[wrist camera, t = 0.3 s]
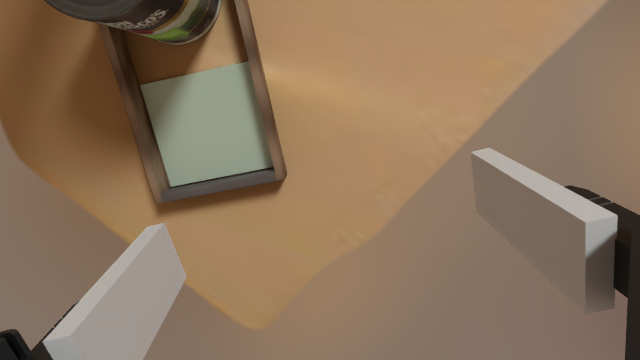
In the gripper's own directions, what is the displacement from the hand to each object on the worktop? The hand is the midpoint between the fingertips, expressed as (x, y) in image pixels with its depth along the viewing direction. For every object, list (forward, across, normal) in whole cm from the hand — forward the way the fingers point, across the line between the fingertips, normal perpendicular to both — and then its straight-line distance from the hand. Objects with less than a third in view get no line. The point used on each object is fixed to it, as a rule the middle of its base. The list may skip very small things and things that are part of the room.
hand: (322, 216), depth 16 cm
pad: (+27, -11, +1) cm, 29 cm away
